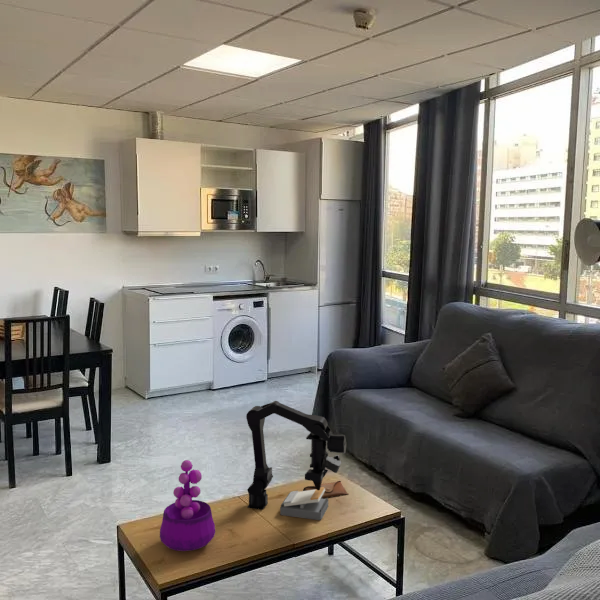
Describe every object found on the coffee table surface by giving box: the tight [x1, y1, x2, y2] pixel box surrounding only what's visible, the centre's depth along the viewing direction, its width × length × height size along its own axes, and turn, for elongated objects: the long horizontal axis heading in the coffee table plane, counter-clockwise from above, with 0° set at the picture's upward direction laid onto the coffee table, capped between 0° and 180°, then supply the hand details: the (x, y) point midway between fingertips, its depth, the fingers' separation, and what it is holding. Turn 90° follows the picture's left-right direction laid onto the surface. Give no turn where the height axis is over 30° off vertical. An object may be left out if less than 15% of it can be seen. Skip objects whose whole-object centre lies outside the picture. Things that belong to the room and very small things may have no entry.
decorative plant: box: [159, 459, 216, 552], centre depth 207 cm, size 19×18×30 cm
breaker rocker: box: [283, 487, 325, 506], centre depth 234 cm, size 14×11×2 cm
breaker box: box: [279, 492, 329, 521], centre depth 234 cm, size 16×12×4 cm
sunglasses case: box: [302, 480, 349, 499], centre depth 250 cm, size 18×7×7 cm
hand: (318, 489), depth 232 cm, fingers closed
